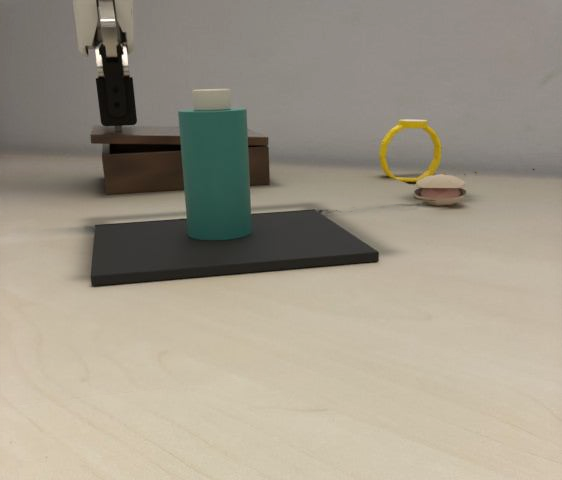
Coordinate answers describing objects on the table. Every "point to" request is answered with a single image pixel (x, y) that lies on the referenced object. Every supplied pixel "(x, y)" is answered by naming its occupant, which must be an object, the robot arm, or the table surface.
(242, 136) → the bottle
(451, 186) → the macaroon
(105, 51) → the robot arm
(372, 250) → the mat
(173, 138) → the lid
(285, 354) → the table surface
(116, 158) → the brown wooden tray
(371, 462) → the table surface
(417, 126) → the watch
